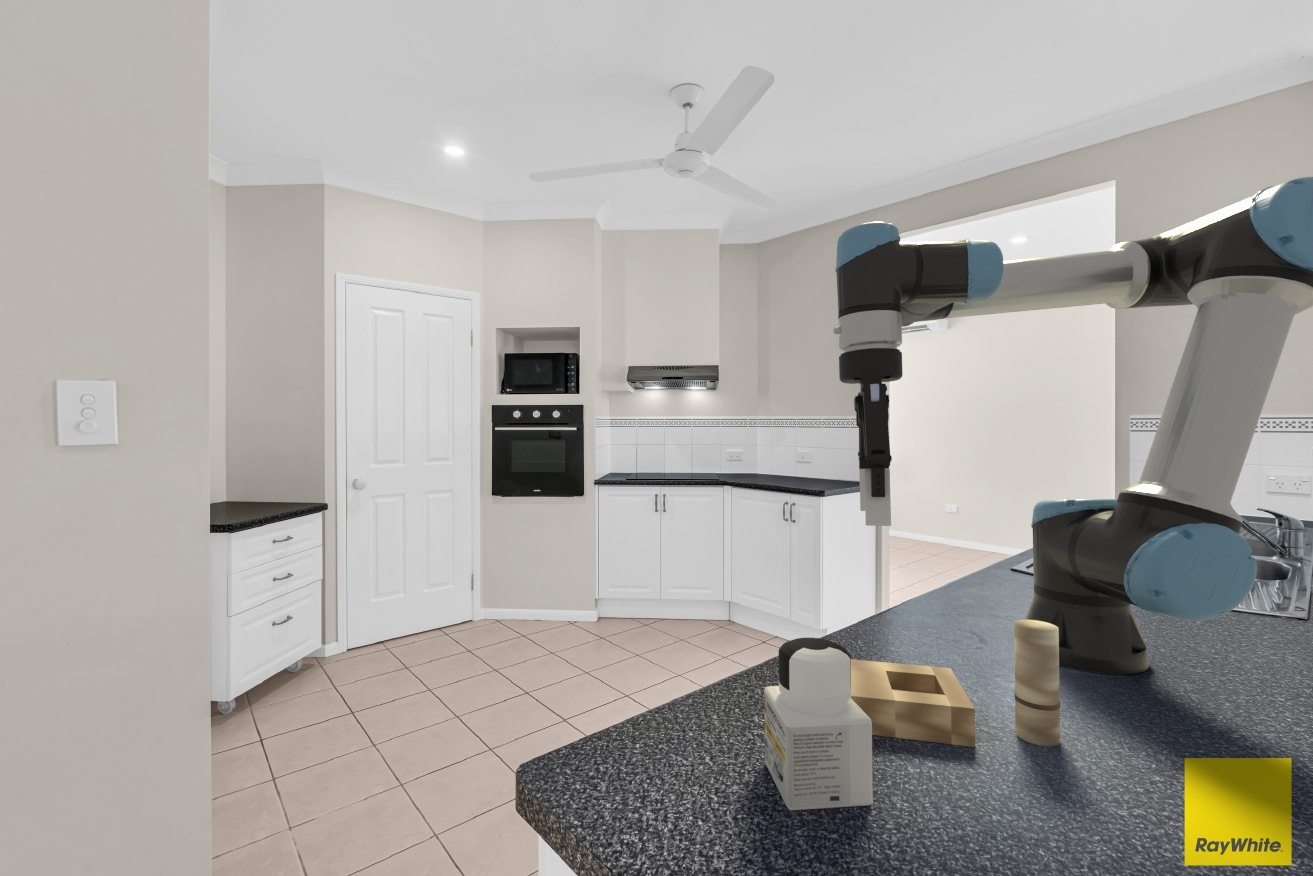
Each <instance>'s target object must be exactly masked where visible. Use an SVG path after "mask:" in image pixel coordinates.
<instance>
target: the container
mask: <svg viewBox="0 0 1313 876" xmlns="http://www.w3.org/2000/svg"><path fill="white" fill-rule="evenodd" d="M851 659H852V657H851V653H849V652H848V650H847V649H846V648H845V647H843V646H842V645H840V644H838V643H837V642H834V641H831V640H829V639H824V638H821V637H820V638H819V637H797V638H794V639H791V640H788V641H786V642H784V643H782V645H781V646H780V647H779V648H778V685H774V686H773V685H772V686H771V685H769V686H765V687H764V688H763V689H764V691H763V694H764V695H763V696H764V697H763V699H764V700H763V701H764V703H763V704H764V710H763V712H764V715H763V716H764V761H765V762H764V763H765V765H766V767H767V769H768V770H769V773H770V776H771V777H772V779H773V781H774V783H775V785H776V788H777V790H778V791H779V794H780V796H781V797H782V800H783V801H784V804H785V805H786V808H787V809H788V810H789V811H802V810H803V811H805V810H818V809H819V810H820V809H832V808H833V809H834V808H835V809H836V808H848V807H852V808H853V807H867V806H870V805H872V804H873V802H874V801H873V735H872V721H871V719H870V718H869V717H868V716H867V714H866V713H865V712H864V711H863V710H862V709H861V708H860V707H859V706H858V705H857V704H856V703H855V702H854V701H853V700H852V699H851Z"/></svg>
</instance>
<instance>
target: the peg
mask: <svg viewBox="0 0 1313 876" xmlns="http://www.w3.org/2000/svg"><path fill="white" fill-rule="evenodd" d="M1013 629H1014V630H1013V632H1014V633H1013V634H1014V635H1013V636H1014V637H1013V640H1014V641H1013V647H1014V693H1013V695H1014V715H1015V716H1014V720H1015V721H1014V725H1015V727H1014V730H1015V734H1016V736H1018V737H1019V738H1020V739H1022V740H1023V741H1025V742H1027V743H1029V744H1032V745H1036V746H1039V747H1050V748H1051V747H1056V746H1059V745H1060V743H1061V728H1060V727H1061V720H1060V718H1061V716H1060V715H1061V714H1060V713H1061V711H1060V708H1061V701H1060V665H1059V628H1058V627H1057V626H1055V625H1053V624H1050V623H1047V622H1043V621H1037V620H1026V619H1017V620H1014V622H1013Z"/></svg>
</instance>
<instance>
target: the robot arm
mask: <svg viewBox="0 0 1313 876" xmlns="http://www.w3.org/2000/svg"><path fill="white" fill-rule="evenodd" d="M835 264H836V265H835V272H836V273H835V274H836V288H837V289H836V291H837V308H838V312H837V313H838V315H837V317H838V325H839V326H835V327H833V334H834V335H839V336H838V348H839V349H840V350H841V351H842V352H843V353H841V354H840V355H839V356H838V365H839V366H838V368H839V369H838V372H839V373H838V374H839V376H838V377H839V381H840V382H841V383H843V384H849V385H850V384H851V385H853V384H859V385H860V392H858V393H857V395H855V396H854V399H853V401H854V402H853V403H854V404H853V405H854V412H855V414H856V417H855V418H856V419H855V420H856V421H855V422H856V426H857V428H858V452H857V456H858V462H859V463H858V469H859V470H858V472H859V474H858V476H859V504H860V506H859V507H860V508H859V510H860V511H861V512H864V513H865V526H875V527H877V526H880V527H885V526H886V527H891V526H892V515H891V514H892V508H891V507H892V506H891V505H892V504H891V501H892V500H891V475H890V473H891V472H890V471H891V470H890V466H891V462H892V461H893V458H892V455H891V447H890V434H889V433H890V431H889V430H890V429H889V419H890V417H889V415H890V414H889V408H890V395H889V394H887V391H888V386H887V384H886V383H889V382H895V381H898V380H900V379H902V377H903V352H902V351H901V350H900V349H899V348H898V347H900V346H901V345H902V344H903V328H902V327H904V328H905V327H908V326H911V325H912V324H914V323H919V322H927V321H928V322H929V321H937V320H945V319H953V318H954V319H955V318H963V317H964V318H965V317H976V316H986V315H997V314H1005V313H1017V312H1019V313H1021V312H1029V311H1039V310H1040V311H1041V310H1049V309H1050V310H1051V309H1052V310H1053V309H1061V308H1072V307H1082V306H1083V307H1084V306H1093V305H1102V304H1104V305H1106V306H1108V307H1109V308H1111V309H1114V310H1124V309H1136V308H1152V307H1172V306H1174V307H1175V306H1188V305H1189V306H1191V305H1194V306H1195V307H1196V309H1197V312H1196V314H1195V317H1194V320H1193V322H1192V326H1191V330H1190V332H1189V335H1188V338H1187V341H1186V344H1185V347H1184V350H1183V352H1182V355H1181V359H1180V362H1179V365H1178V367H1177V370H1176V374H1175V376H1174V378H1173V382H1172V384H1171V385H1172V386H1171V388H1170V390H1169V394H1168V397H1167V399H1166V402H1165V405H1164V408H1163V411H1162V413H1161V414H1162V415H1161V417H1160V421H1159V422H1158V426H1157V429H1156V432H1155V434H1154V438H1153V441H1152V443H1151V447H1150V449H1149V452H1148V456H1147V459H1146V461H1145V463H1144V467H1143V468H1142V469H1143V470H1142V472H1141V475H1140V479H1139V481H1138V482H1137V483H1135V484H1133V485H1131V486H1128V487H1127V488H1124V489H1121V490H1120V491H1119V494H1118V497H1117V499H1116V498H1113V499H1112V498H1092V499H1091V498H1089V499H1088V498H1084V499H1083V498H1082V499H1080V498H1079V499H1052V500H1051V499H1047V500H1041V501H1038V502H1037V503H1036V504H1035V505H1034V507H1033V511H1032V513H1033V514H1032V519H1031V526H1030V527H1031V529H1032V561H1033V566H1032V567H1033V598H1032V601H1031V603H1030V605H1029V607H1028V611H1027V613H1026V616H1025V619H1026V620H1037V621H1043V622H1047V623H1050V624H1053V625H1055V626H1057V627H1058V628H1059V666H1061V667H1065V668H1069V669H1073V670H1077V671H1083V672H1090V673H1097V674H1098V673H1099V674H1105V675H1106V674H1107V675H1108V674H1109V675H1133V674H1141V673H1143V672H1145V671H1147V670H1148V669H1149V666H1150V665H1149V650H1148V647H1147V644H1146V642H1145V639H1144V637H1143V635H1142V632H1141V630H1140V626H1139V624H1138V622H1137V620H1136V617H1135V615H1134V612H1133V609H1132V605H1133V606H1136V607H1138V608H1139V609H1141V610H1144V611H1146V612H1149V613H1152V614H1154V615H1158V616H1163V617H1169V618H1173V619H1177V620H1181V621H1187V622H1188V621H1190V622H1199V621H1201V622H1202V621H1207V620H1209V621H1210V620H1212V619H1214V618H1216V617H1217V616H1220V615H1221V616H1222V615H1225V614H1227V613H1229V612H1231V611H1232V610H1235V609H1236V608H1237V607H1238V606H1240V604H1241V603H1242V602H1243V601H1245V599H1246V598H1247V597H1248V596H1249V593H1250V592H1251V591H1252V589H1253V587H1254V585H1255V581H1256V578H1257V570H1258V567H1257V566H1258V565H1257V559H1256V558H1254V557H1253V556H1251V554H1253V549H1252V547H1251V546H1250V544H1249V542H1247V540H1246V539H1245V538H1244V537H1242V536H1241V535H1239V534H1240V531H1241V529H1242V525H1243V522H1244V521H1243V519H1242V517H1241V516H1240V515H1239V513H1238V512H1237V511H1236V510H1235V509H1234V508H1233V506H1232V503H1231V502H1232V499H1233V495H1234V493H1235V490H1236V487H1237V484H1238V482H1239V478H1240V475H1241V473H1242V471H1243V470H1242V469H1243V466H1244V463H1245V461H1246V458H1247V455H1248V453H1249V449H1250V447H1251V443H1252V440H1253V438H1254V434H1255V432H1256V428H1257V426H1258V423H1259V419H1260V417H1261V414H1262V410H1263V409H1264V406H1265V402H1266V400H1267V399H1266V398H1267V396H1268V394H1269V390H1270V387H1271V384H1272V382H1273V379H1274V377H1275V372H1276V370H1277V368H1278V364H1279V361H1280V358H1281V355H1282V352H1283V351H1284V350H1283V349H1284V346H1285V343H1286V341H1287V338H1288V336H1289V335H1288V334H1289V333H1290V328H1291V327H1292V324H1293V321H1294V317H1295V316H1296V315H1298V314H1300V313H1302V312H1304V311H1306V310H1308V309H1310V308H1312V307H1313V176H1305V177H1304V176H1303V177H1297V178H1293V179H1290V180H1288V181H1285V182H1282V183H1280V184H1278V185H1275V186H1273V185H1271V186H1267V187H1265V188H1263V189H1262V188H1261V190H1258V191H1257V192H1256V193H1255V194H1254V195H1252V196H1250V197H1247V198H1245V199H1242V200H1240V201H1237V202H1235V203H1232V204H1230V205H1228V206H1225V207H1223V208H1220V209H1217V210H1216V211H1214V212H1211V213H1208V214H1206V215H1204V216H1201V217H1199V218H1197V219H1194V220H1192V221H1189V222H1186V223H1184V224H1182V225H1179V226H1177V227H1175V228H1172V229H1170V230H1167V231H1165V232H1161V233H1160V234H1156V235H1153V236H1149V237H1147V238H1143V239H1138V240H1131V241H1123V242H1120V243H1117V244H1115V245H1113V246H1112V247H1111V248H1110V249H1109V250H1103V251H1101V250H1100V251H1093V252H1092V251H1091V252H1083V253H1073V254H1063V255H1052V256H1043V257H1041V256H1040V257H1033V258H1031V257H1030V258H1021V259H1015V260H1004V255H1003V252H1002V249H1001V248H1000V247H999V245H998V244H996V243H995V242H994V241H992V240H981V239H978V240H977V239H969V238H965V239H963V240H941V241H939V240H938V241H937V240H936V241H918V242H916V241H915V242H914V241H913V242H911V241H901V236H900V232H899V228H898V227H897V226H896V225H895V224H893V223H891V222H890V223H889V222H887V223H886V222H884V221H872V222H865V223H864V222H863V223H861V224H857V225H854V226H852V227H850V228H848V229H846V230H845V231H843V232H842V233H841V234H840V236H839V237H838V239H837V244H836V263H835Z"/></svg>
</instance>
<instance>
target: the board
mask: <svg viewBox="0 0 1313 876" xmlns="http://www.w3.org/2000/svg"><path fill="white" fill-rule="evenodd" d="M951 668H952V667H951ZM951 668H950V667H941V666H940V667H939V666H931V665H920V664H910V663H909V664H908V663H898V662H896V663H895V662H884V661H883V662H882V661H874V660H873V661H872V660H863V659H861V660H860V659H852V658H851V699H852V700H853V701H854V702H855V703H856V704H857V705H858V706H859V707H860V708H861V709H862V710H863V711H864V712H865V713H866V714H867V716H868V717H869V718H870V719H871V721H872V736H879V737H887V738H889V737H890V738H897V739H904V740H912V741H913V740H915V741H919V742H920V741H921V742H929V743H930V742H931V743H938V744H945V745H946V744H947V745H954V746H955V745H956V746H963V747H970V748H971V747H972V748H975V747H976V708H975V707H974V705H973V703H972V702H971V700H970V699H969V696H968V694H967V693H966V691H965V690H964V689H963V687H962V685H961V683H960V682H959V680H958V678H957V677H956V675H955V674H954V671H953V670H952V669H951Z"/></svg>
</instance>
